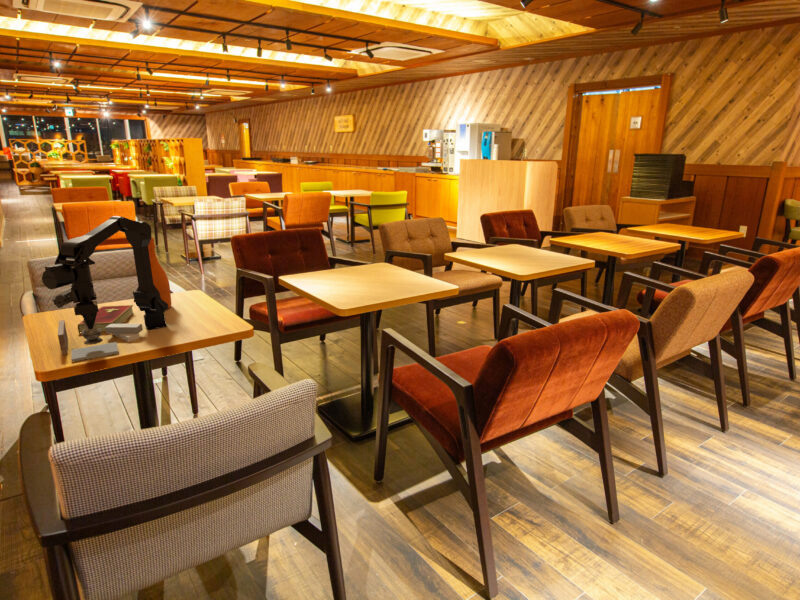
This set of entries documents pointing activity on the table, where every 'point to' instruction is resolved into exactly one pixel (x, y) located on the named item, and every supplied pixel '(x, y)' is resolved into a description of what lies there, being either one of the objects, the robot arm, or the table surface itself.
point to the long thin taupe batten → (63, 337)
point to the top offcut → (123, 328)
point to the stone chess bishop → (91, 334)
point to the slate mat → (94, 351)
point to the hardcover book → (110, 316)
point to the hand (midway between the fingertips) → (90, 327)
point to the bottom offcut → (128, 336)
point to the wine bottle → (159, 275)
